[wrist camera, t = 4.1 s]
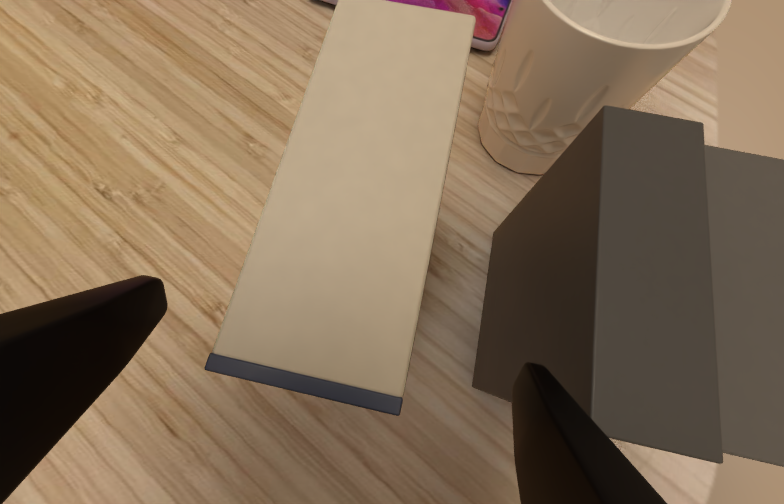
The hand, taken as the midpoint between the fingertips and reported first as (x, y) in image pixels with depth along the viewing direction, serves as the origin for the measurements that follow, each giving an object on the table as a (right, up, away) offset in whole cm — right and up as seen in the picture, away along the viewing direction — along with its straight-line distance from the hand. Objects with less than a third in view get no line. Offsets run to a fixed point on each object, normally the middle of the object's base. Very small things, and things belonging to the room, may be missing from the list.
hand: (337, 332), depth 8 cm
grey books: (+9, -2, +11) cm, 15 cm away
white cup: (+10, +10, +15) cm, 21 cm away
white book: (+1, 0, +11) cm, 11 cm away
